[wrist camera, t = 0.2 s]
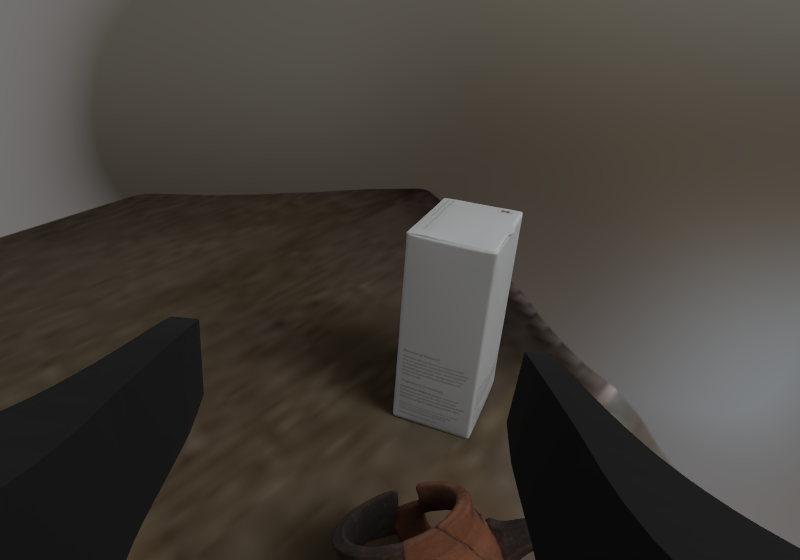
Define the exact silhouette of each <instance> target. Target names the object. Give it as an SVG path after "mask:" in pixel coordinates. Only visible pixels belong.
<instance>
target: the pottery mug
mask: <svg viewBox="0 0 800 560" xmlns="http://www.w3.org/2000/svg"><path fill="white" fill-rule="evenodd" d="M416 490H417V493H418V496H419V500H417V501H413V502H410V503H407V504H404V505H402V506H399V507H398V493H397V491H395V490H393V491H390V492H386V493H383V494H381V495H378V496H376V497H374V498H372V499H370V500H368V501H366V502H365V503H363V504H361V505H360V506H358V507H357V508H356V509H354V510H353V511H351V512H350V513H349V514H348V515H347V516H346V517H345V519H344V520H342V521H341V522H340V523H339V525H338V526H336V530H335V532H334V533H333V535H332V545H333V546H334V549H335V551H336V553H337V557H336V559H335V560H520V559H521V558H522V557H524V556H525V555H526V554H528V553H530V552H532V551H533V547H532V543H531V539H530V535H529V531H528V528H527V524H526V520H525V518H521V519H516V520H509V521H499V520H495V519H492V518H488V519H486V520H485V519H484V518H483V516H482V514H481V513H480V512H478V511H477V510H476V509H474V508H473V507H472V500H471V495H470V493H469V492H468V491H467V490H466V489H464V488H463V487H461V486H459V485H457V484H454V483H449V482H425V483H420V484H418V485H417V486H416ZM439 510H452V511H451V512H450V514H449V515H448V516H447V517H446V518H445V519H444V520H442V521H441V522H440V523H438V524H437V526H436V527H435V528H431V527H430V525H429V524H428V523H427V520H426V518H425V513H426V512H429V511H439ZM394 534H397V535H398V537H399V539H400V540H401V541H402V542H401V543H394V544H388V545H383V546H374V547H371V546H363V545H364V544H365V543H367V542H369V541H372V540H374V539H378V538H383V537H386V536H391V535H394Z"/></svg>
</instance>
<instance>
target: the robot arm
mask: <svg viewBox="0 0 800 560" xmlns="http://www.w3.org/2000/svg"><path fill="white" fill-rule="evenodd" d="M203 394H204V391H203V376H202V360H201V344H200V328H199V319H191V318H181V317H169V318H167V319H165V320H164V321H162V322H160V323H159V324H157V325H155V326H154V327H152V328H150V329H149V330H147V331H146V332H144V333H142V334H141V335H139V336H138V337H136V338H135V339H133V340H131V341H130V342H128V343H127V344H125V345H123V346H122V347H120V348H118V349H117V350H115V351H114V352H112V353H110V354H109V355H107V356H105V357H104V358H102V359H101V360H99V361H97V362H96V363H94V364H92V365H90V366H88V367H87V368H85V369H83V370H81V371H79V372H78V373H76V374H74V375H72V376H70V377H69V378H67V379H65V380H63V381H61V382H60V383H58V384H56V385H54V386H52V387H50V388H48V389H46V390H45V391H43V392H41V393H39V394H36V395H34V396H32V397H30V398H28V399H26V400H24V401H22V402H20V403H17V404H15V405H13V406H11V407H9V408H6V409H4V410H2V411H0V560H126V559H127V556H128V554H129V551H130V549H131V547H132V544H133V542H134V540H135V538H136V536H137V534H138V531H139V529H140V527H141V525H142V523H143V521H144V519H145V517H146V515H147V514H148V512H149V510H150V508H151V506H152V504H153V502H154V500H155V498H156V497H157V495H158V493H159V491H160V489H161V487H162V485H163V483H164V481H165V480H166V478H167V476H168V474H169V472H170V470H171V468H172V466H173V464H174V463H175V461H176V459H177V457H178V455H179V453H180V451H181V449H182V447H183V445H184V443H185V441H186V439H187V437H188V435H189V433H190V431H191V428H192V425H193V423H194V420H195V417H196V415H197V412H198V409H199V406H200V403H201V400H202V397H203ZM507 430H508V440H509V448H510V456H511V464H512V468H513V472H514V476H515V480H516V484H517V488H518V492H519V496H520V500H521V504H522V508H523V512H524V516H525V520H526V524H527V528H528V531H529V535H530V539H531V543H532V547H533V551H534V555H535V559H536V560H800V548H798V547H796V546H795V545H793V544H791V543H789V542H787V541H786V540H784V539H782V538H780V537H779V536H777V535H775V534H773V533H772V532H770V531H768V530H766V529H764V528H763V527H761V526H759V525H758V524H756V523H754V522H753V521H751V520H749V519H748V518H746V517H744V516H743V515H741V514H740V513H738V512H736V511H735V510H733V509H732V508H730V507H729V506H727V505H726V504H724V503H723V502H721V501H720V500H718V499H717V498H715V497H713V496H712V495H710V494H709V493H707V492H706V491H704V490H703V489H702V488H700V487H699V486H697V485H696V484H694V483H693V482H691V481H690V480H689V479H687V478H686V477H685V476H683V475H682V474H681V473H680V472H678V471H677V470H676V469H674V468H673V467H672V466H670V465H669V464H668V463H667V462H665V461H664V460H663V459H661V458H660V457H659V456H658V455H656V454H655V453H654V452H653V451H651V450H650V449H649V448H648V447H647V446H645V445H644V444H643V443H642V442H641V441H640V440H639V439H638V438H636V437H635V436H634V435H633V434H632V433H631V432H630V431H629V430H627V429H626V428H625V427H624V426H623V425H622V424H621V423H620V422H619V421H618V420H617V419H616V418H614V417H613V416H612V415H611V414H610V413H609V412H608V411H607V410H606V409H605V408H604V407H603V406H602V405H601V404H600V403H599V402H598V401H597V400H596V399H595V398H594V397H593V396H592V395H591V394H590V393H589V392H588V391H587V390H586V389H585V388H584V387H583V386H582V384H581V383H580V382H579V381H578V380H577V379H576V378H575V377H574V376H573V375H572V374H571V373H570V372H569V371H568V370H567V369H566V368H565V367H564V366H563V365H562V364H561V363H560V362H559V361H558V360H557V359H556V358H555V357H554V356H553V355H552V354H543V353H533V352H525V353H524V357H523V361H522V365H521V369H520V373H519V376H518V380H517V384H516V388H515V392H514V396H513V400H512V404H511V408H510V412H509V416H508V420H507Z"/></svg>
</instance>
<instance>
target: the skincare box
mask: <svg viewBox="0 0 800 560" xmlns="http://www.w3.org/2000/svg"><path fill="white" fill-rule="evenodd" d="M521 220H522V212H519V211H514V210H509V209H504V208H497V207H492V206H486V205H481V204H475V203H470V202H465V201H460V200H454V199H446V198H444V199H443V200H442V201H441V202H440V203H439V204H438V205H436V206H435V207H434V208H433V209H432V210H431V211H430V212H429V213H428V214H427V215H425V216H424V217H423V218H422V219H421V220H420V221H419V222H418V223H417V224H415V225H414V226H413V227H412V228H411V229H410V230H409V231H408V232H407V242H406V254H405V266H404V279H403V291H402V304H401V316H400V329H399V343H398V355H397V367H396V380H395V392H394V405H393V415H394V416H397V417H400V418H403V419H406V420H410V421H413V422H416V423H419V424H422V425H425V426H428V427H431V428H435V429H438V430H441V431H444V432H447V433H450V434H453V435H456V436H459V437H462V438H465V439H468V438H469V436H470V434H471V432H472V430H473V428H474V426H475V423H476V421H477V419H478V417H479V414H480V412H481V410H482V408H483V405H484V403H485V401H486V399H487V396H488V394H489V392H490V389H491V387H492V384H493V381H494V375H495V368H496V362H497V356H498V350H499V345H500V339H501V333H502V328H503V322H504V317H505V311H506V305H507V299H508V294H509V288H510V282H511V277H512V271H513V265H514V259H515V254H516V248H517V242H518V237H519V231H520V226H521Z"/></svg>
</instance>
